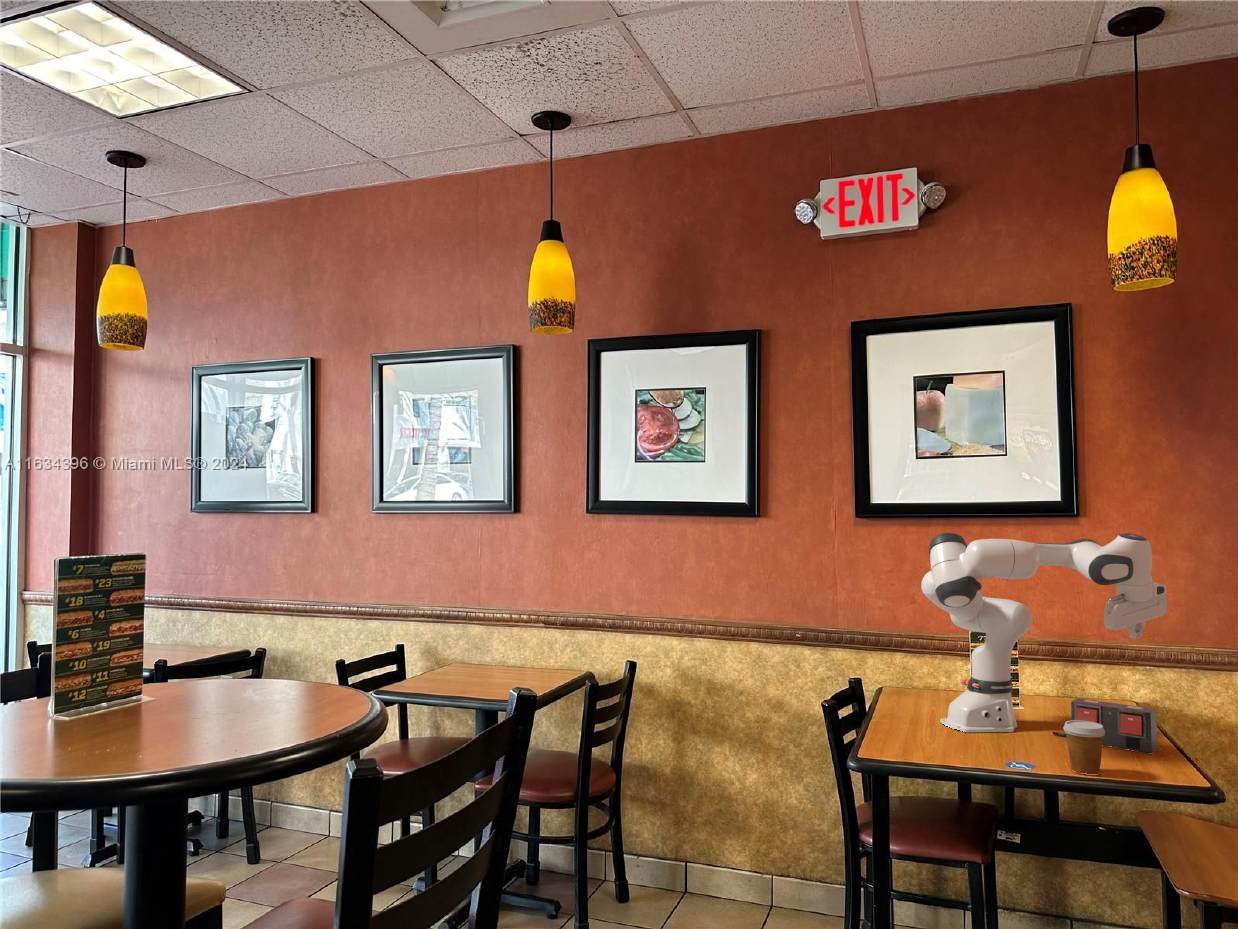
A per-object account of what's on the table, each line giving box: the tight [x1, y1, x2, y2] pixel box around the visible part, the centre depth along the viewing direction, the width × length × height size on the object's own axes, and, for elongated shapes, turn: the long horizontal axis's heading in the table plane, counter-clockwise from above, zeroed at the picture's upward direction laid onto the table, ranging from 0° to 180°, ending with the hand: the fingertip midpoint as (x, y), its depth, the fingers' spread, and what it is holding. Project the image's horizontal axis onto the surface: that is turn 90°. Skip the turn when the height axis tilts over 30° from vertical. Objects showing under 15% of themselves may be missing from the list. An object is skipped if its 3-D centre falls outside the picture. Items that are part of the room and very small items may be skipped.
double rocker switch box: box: [1052, 697, 1158, 754], centre depth 248 cm, size 26×7×11 cm, turn 47°
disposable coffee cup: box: [1062, 719, 1105, 774], centre depth 223 cm, size 10×10×12 cm
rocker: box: [1077, 707, 1098, 723], centre depth 247 cm, size 5×1×5 cm, turn 47°
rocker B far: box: [1120, 714, 1142, 735], centre depth 240 cm, size 5×1×5 cm, turn 47°
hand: (1135, 637), depth 246 cm, fingers closed
